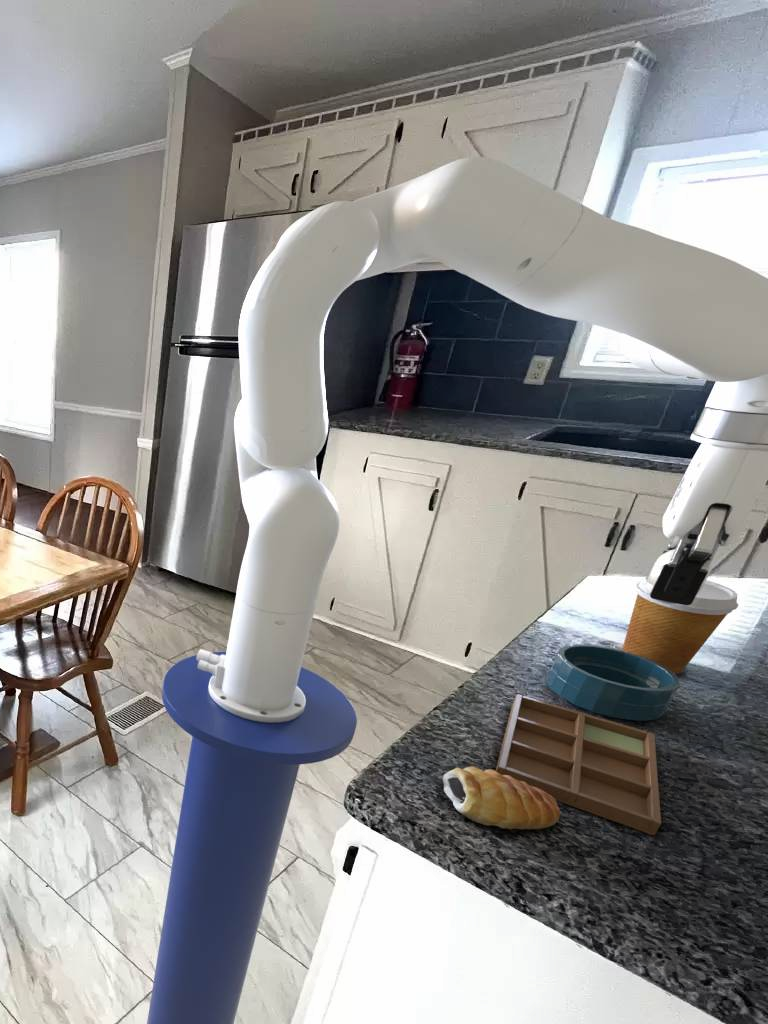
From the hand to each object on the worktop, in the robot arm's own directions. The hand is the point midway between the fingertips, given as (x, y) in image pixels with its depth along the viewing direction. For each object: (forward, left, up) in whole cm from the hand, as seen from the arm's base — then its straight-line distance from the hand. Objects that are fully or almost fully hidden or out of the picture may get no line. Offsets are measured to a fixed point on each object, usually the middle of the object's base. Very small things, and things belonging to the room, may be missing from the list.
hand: (669, 592), depth 71 cm
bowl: (-1, +5, -18) cm, 18 cm away
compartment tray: (-3, -13, -18) cm, 22 cm away
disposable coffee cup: (+4, +21, -18) cm, 28 cm away
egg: (0, 0, -1) cm, 1 cm away
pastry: (-9, -28, -18) cm, 34 cm away
